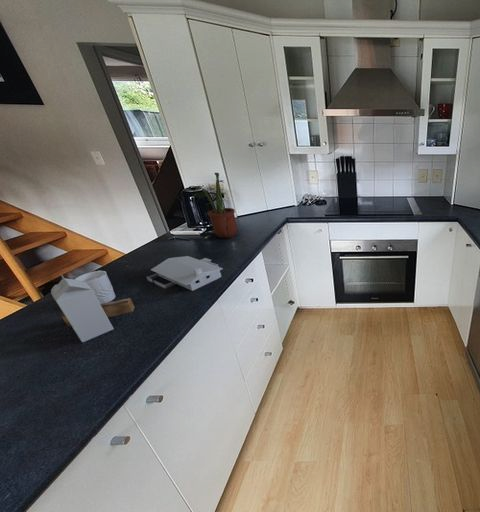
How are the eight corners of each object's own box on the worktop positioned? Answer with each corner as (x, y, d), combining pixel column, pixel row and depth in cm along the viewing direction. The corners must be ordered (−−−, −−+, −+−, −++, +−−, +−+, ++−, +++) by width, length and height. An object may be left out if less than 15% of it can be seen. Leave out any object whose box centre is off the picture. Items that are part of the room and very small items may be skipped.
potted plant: (237, 230, 162) (222, 170, 146) (244, 238, 151) (229, 174, 136) (203, 237, 152) (183, 173, 136) (209, 246, 141) (188, 178, 126)
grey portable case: (238, 269, 120) (234, 254, 116) (182, 296, 101) (176, 279, 98) (203, 257, 130) (199, 243, 127) (146, 280, 111) (140, 264, 108)
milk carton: (107, 321, 88) (78, 270, 80) (114, 329, 85) (85, 277, 76) (76, 333, 83) (42, 280, 74) (82, 343, 79) (48, 288, 71)
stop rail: (67, 326, 86) (60, 315, 84) (72, 321, 88) (64, 309, 86) (132, 312, 93) (127, 300, 90) (134, 307, 95) (129, 296, 93)
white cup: (118, 291, 103) (106, 268, 99) (117, 301, 98) (105, 277, 94) (89, 299, 99) (76, 275, 94) (87, 309, 93) (72, 284, 89)
